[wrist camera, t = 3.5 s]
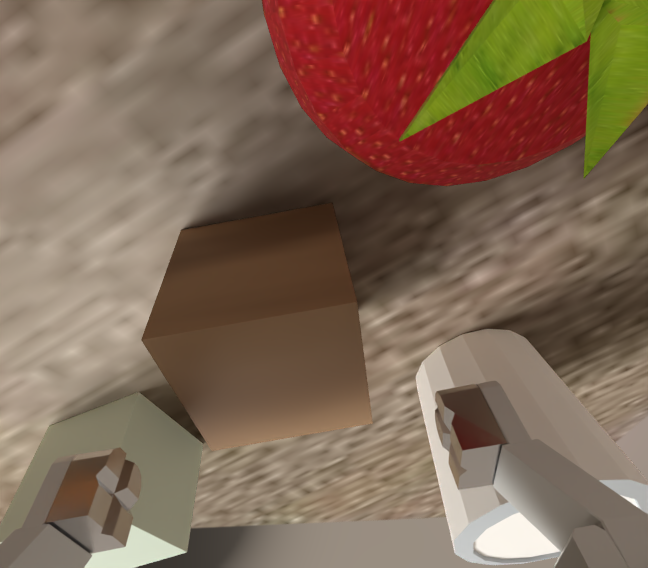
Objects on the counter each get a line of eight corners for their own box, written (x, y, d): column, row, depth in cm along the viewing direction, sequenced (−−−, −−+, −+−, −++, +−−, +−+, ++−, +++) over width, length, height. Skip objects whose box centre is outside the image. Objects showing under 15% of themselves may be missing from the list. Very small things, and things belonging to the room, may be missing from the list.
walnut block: (181, 228, 13) (141, 340, 9) (332, 201, 13) (357, 302, 9) (227, 334, 16) (211, 450, 12) (348, 313, 16) (372, 423, 12)
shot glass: (383, 353, 18) (431, 526, 12) (539, 295, 16) (673, 459, 11) (424, 427, 22) (474, 581, 16) (551, 385, 20) (653, 537, 15)
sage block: (49, 424, 19) (-11, 545, 15) (139, 390, 18) (100, 509, 14) (123, 469, 22) (90, 580, 18) (203, 442, 21) (186, 552, 17)
